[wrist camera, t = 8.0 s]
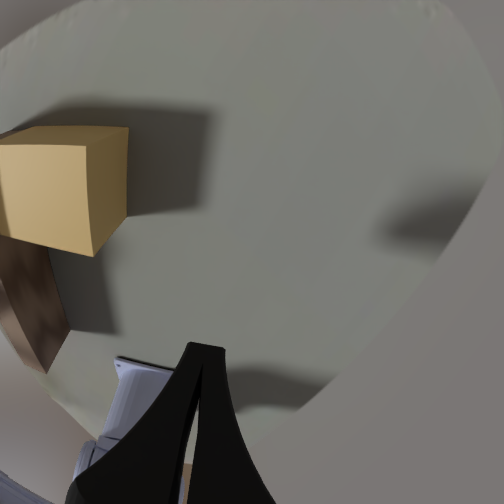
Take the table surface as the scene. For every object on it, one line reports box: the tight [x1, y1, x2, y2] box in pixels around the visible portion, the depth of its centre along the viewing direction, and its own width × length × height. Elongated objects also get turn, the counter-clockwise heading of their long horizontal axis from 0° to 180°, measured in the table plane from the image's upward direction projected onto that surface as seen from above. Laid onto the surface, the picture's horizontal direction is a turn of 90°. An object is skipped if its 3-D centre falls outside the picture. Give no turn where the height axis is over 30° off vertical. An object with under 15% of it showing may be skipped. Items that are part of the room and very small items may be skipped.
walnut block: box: [0, 130, 70, 374], centre depth 17 cm, size 20×3×6 cm, turn 169°
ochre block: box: [0, 125, 129, 257], centre depth 14 cm, size 6×8×5 cm
